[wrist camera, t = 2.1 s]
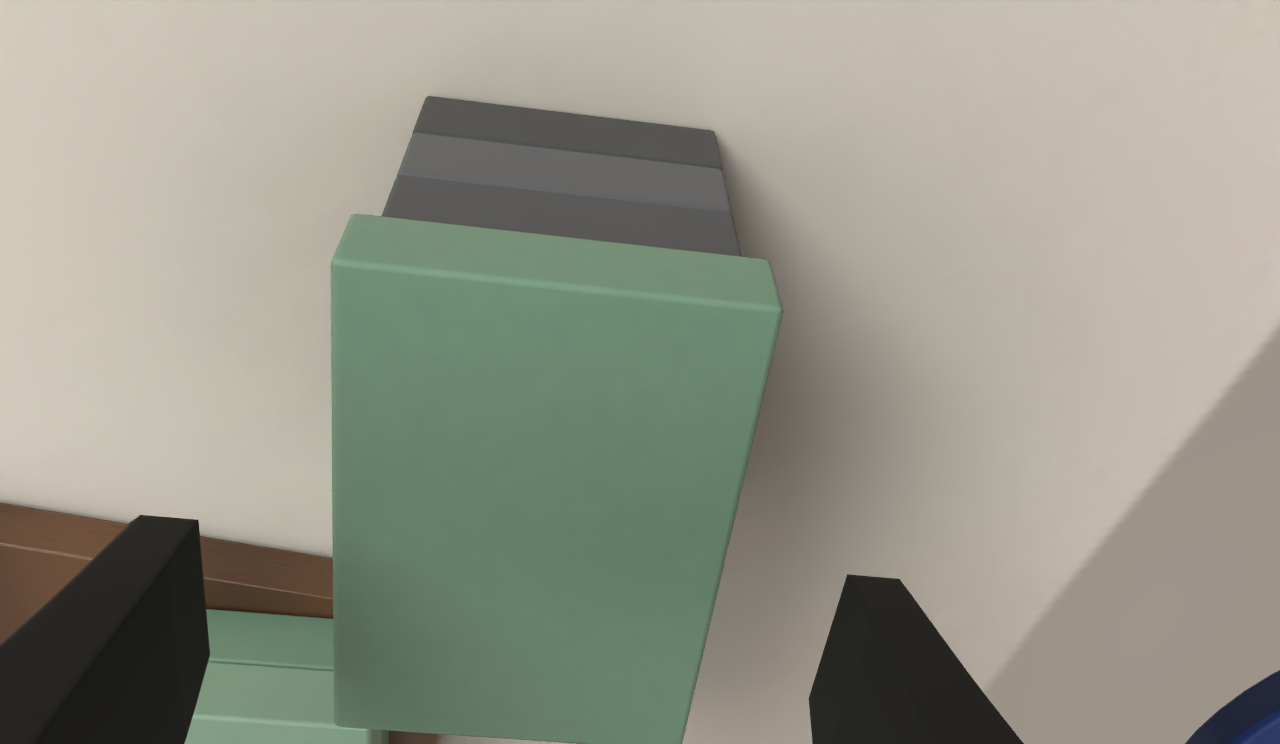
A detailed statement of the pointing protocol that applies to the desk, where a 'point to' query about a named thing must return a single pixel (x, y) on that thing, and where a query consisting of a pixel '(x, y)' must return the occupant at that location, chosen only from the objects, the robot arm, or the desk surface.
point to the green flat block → (270, 683)
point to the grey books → (564, 177)
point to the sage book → (534, 476)
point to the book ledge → (233, 572)
